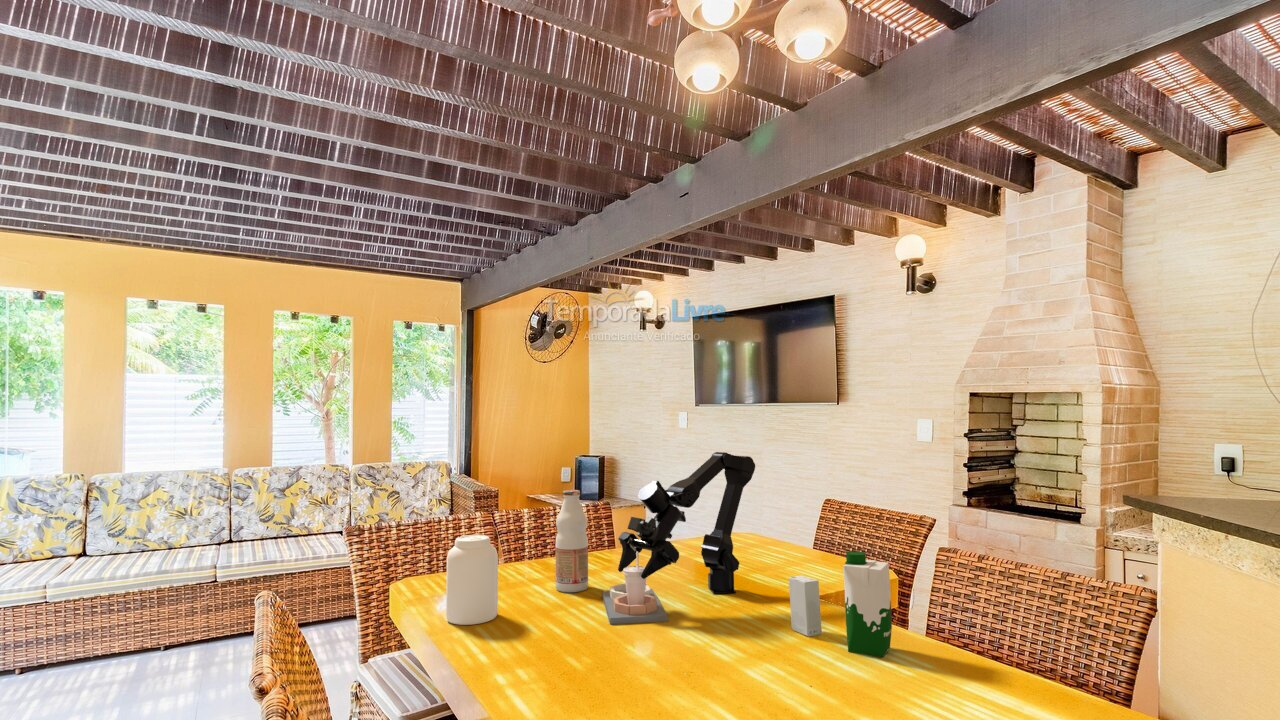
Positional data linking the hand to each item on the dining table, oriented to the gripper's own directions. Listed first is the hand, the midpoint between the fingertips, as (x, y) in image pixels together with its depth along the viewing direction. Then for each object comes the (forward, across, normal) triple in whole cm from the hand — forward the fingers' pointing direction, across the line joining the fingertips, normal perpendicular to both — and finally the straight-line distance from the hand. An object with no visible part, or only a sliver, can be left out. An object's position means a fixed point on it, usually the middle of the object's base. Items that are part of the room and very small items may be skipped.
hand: (630, 574), depth 167 cm
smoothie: (+5, 0, +7) cm, 9 cm away
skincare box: (-8, +37, +23) cm, 44 cm away
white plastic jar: (+29, -25, -15) cm, 41 cm away
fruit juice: (+5, -31, +9) cm, 33 cm away
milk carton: (-9, +52, +23) cm, 58 cm away
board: (+4, -4, +10) cm, 12 cm away
